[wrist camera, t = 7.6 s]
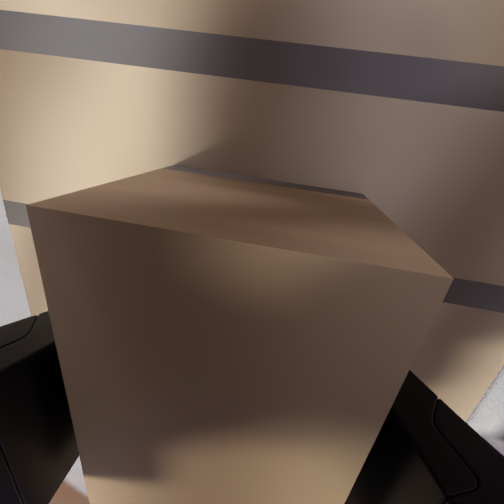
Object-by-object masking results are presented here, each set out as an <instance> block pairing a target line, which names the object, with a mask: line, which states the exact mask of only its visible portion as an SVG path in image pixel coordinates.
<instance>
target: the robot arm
mask: <svg viewBox="0 0 504 504" xmlns="http://www.w3.org/2000/svg"><path fill="white" fill-rule="evenodd" d="M78 456H79V451H78V446H77V441H76V437H75V432H74V427H73V423H72V418H71V413H70V409H69V404H68V399H67V395H66V390H65V386H64V381H63V376H62V372H61V367H60V362H59V358H58V353H57V348H56V344H55V339H54V334H53V330H52V325H51V320H50V316H49V311H46V312H43V313H40V314H39V315H38V316H37V315H34V316H31V317H28V318H25V319H22V320H19V321H16V322H13V323H10V324H7V325H4V326H1V327H0V504H49V502H50V501H51V499H52V497H53V496H54V494H55V493H56V491H57V490H58V488H59V486H60V484H61V483H62V482H63V480H64V479H65V477H66V475H67V474H68V472H69V471H70V469H71V467H72V466H73V464H74V463H75V461H76V460H77V458H78ZM344 504H504V456H503V455H502V454H501V453H500V452H499V451H497V450H496V449H495V448H494V447H493V446H492V445H491V444H489V443H488V442H487V441H486V440H485V439H484V438H483V437H481V436H480V435H479V434H478V433H477V432H476V431H475V430H474V429H472V428H471V427H470V426H469V425H468V424H467V423H466V422H465V421H464V420H463V419H462V418H461V417H459V416H458V415H457V414H456V413H455V412H454V411H453V410H452V409H451V408H450V407H449V406H448V405H447V404H446V403H445V402H443V401H442V400H441V399H438V396H437V395H436V394H435V393H434V392H433V391H432V390H431V389H430V388H429V387H428V386H426V385H425V384H424V383H423V382H422V381H421V380H420V379H419V378H418V377H417V376H416V375H415V374H414V373H413V372H412V371H411V370H409V372H408V374H407V376H406V378H405V380H404V382H403V384H402V386H401V388H400V390H399V392H398V394H397V396H396V398H395V401H394V403H393V405H392V407H391V409H390V411H389V413H388V415H387V417H386V419H385V421H384V423H383V425H382V427H381V429H380V431H379V433H378V436H377V438H376V440H375V442H374V444H373V446H372V448H371V450H370V452H369V454H368V456H367V458H366V460H365V462H364V464H363V466H362V468H361V471H360V473H359V475H358V477H357V479H356V481H355V483H354V485H353V487H352V489H351V491H350V493H349V495H348V497H347V499H346V501H345V503H344Z"/></svg>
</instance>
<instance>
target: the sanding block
mask: <svg viewBox="0 0 504 504" xmlns="http://www.w3.org/2000/svg"><path fill="white" fill-rule="evenodd" d="M26 209H27V213H28V218H29V223H30V227H31V232H32V237H33V241H34V246H35V251H36V255H37V260H38V264H39V269H40V274H41V278H42V283H43V288H44V292H45V297H46V302H47V306H48V311H49V316H50V320H51V325H52V330H53V334H54V339H55V344H56V348H57V353H58V358H59V362H60V367H61V372H62V376H63V381H64V386H65V390H66V395H67V399H68V404H69V409H70V413H71V418H72V423H73V427H74V432H75V437H76V441H77V446H78V451H79V455H80V460H81V465H82V469H83V474H84V479H85V483H86V488H87V493H88V497H89V502H90V504H344V503H345V501H346V499H347V497H348V495H349V493H350V491H351V489H352V487H353V485H354V483H355V481H356V479H357V477H358V475H359V473H360V471H361V468H362V466H363V464H364V462H365V460H366V458H367V456H368V454H369V452H370V450H371V448H372V446H373V444H374V442H375V440H376V438H377V436H378V433H379V431H380V429H381V427H382V425H383V423H384V421H385V419H386V417H387V415H388V413H389V411H390V409H391V407H392V405H393V403H394V401H395V398H396V396H397V394H398V392H399V390H400V388H401V386H402V384H403V382H404V380H405V378H406V376H407V374H408V372H409V370H410V368H411V366H412V363H413V361H414V359H415V357H416V355H417V353H418V351H419V349H420V347H421V345H422V343H423V341H424V339H425V337H426V335H427V333H428V331H429V329H430V326H431V324H432V322H433V320H434V318H435V316H436V314H437V312H438V310H439V308H440V306H441V304H442V302H443V300H444V298H445V296H446V294H447V291H448V289H449V287H450V285H451V283H452V281H453V279H454V278H453V277H452V276H451V275H449V274H448V273H447V272H446V271H445V270H444V269H443V268H442V267H441V266H440V265H439V264H438V263H437V262H435V261H434V260H433V259H432V258H431V257H430V256H429V255H428V254H427V253H426V252H425V251H424V250H423V249H421V248H420V247H419V246H418V245H417V244H416V243H415V242H414V241H413V240H412V239H411V238H410V237H409V236H407V235H406V234H405V233H404V232H403V231H402V230H401V229H400V228H399V227H398V226H397V225H396V224H395V223H393V222H392V221H391V220H390V219H389V218H388V217H387V216H386V215H385V214H384V213H383V212H382V211H381V210H379V209H378V208H377V207H376V206H375V205H374V204H373V203H372V202H371V201H370V200H369V199H368V198H367V197H365V196H364V195H363V194H361V193H354V192H348V191H341V190H335V189H328V188H321V187H315V186H308V185H302V184H295V183H289V182H282V181H275V180H269V179H262V178H256V177H249V176H242V175H236V174H229V173H223V172H216V171H210V170H203V169H196V168H190V167H183V166H177V165H172V166H168V167H164V168H161V169H157V170H153V171H150V172H146V173H142V174H139V175H135V176H131V177H127V178H124V179H120V180H116V181H113V182H109V183H105V184H101V185H98V186H94V187H90V188H87V189H83V190H79V191H76V192H72V193H68V194H64V195H61V196H57V197H53V198H50V199H46V200H42V201H39V202H35V203H31V204H27V205H26Z"/></svg>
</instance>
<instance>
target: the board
mask: <svg viewBox="0 0 504 504" xmlns="http://www.w3.org/2000/svg"><path fill="white" fill-rule="evenodd" d="M172 165H177V166H183V167H190V168H196V169H203V170H210V171H216V172H223V173H229V174H236V175H242V176H249V177H256V178H262V179H269V180H275V181H282V182H289V183H295V184H302V185H308V186H315V187H321V188H328V189H335V190H341V191H348V192H354V193H361V194H363V195H364V196H365V197H367V198H368V199H369V200H370V201H371V202H372V203H373V204H374V205H375V206H376V207H377V208H378V209H379V210H381V211H382V212H383V213H384V214H385V215H386V216H387V217H388V218H389V219H390V220H391V221H392V222H393V223H395V224H396V225H397V226H398V227H399V228H400V229H401V230H402V231H403V232H404V233H405V234H406V235H407V236H409V237H410V238H411V239H412V240H413V241H414V242H415V243H416V244H417V245H418V246H419V247H420V248H421V249H423V250H424V251H425V252H426V253H427V254H428V255H429V256H430V257H431V258H432V259H433V260H434V261H435V262H437V263H438V264H439V265H440V266H441V267H442V268H443V269H444V270H445V271H446V272H447V273H448V274H449V275H451V276H452V277H453V278H454V279H453V281H452V283H451V285H450V287H449V289H448V291H447V294H446V296H445V298H444V300H443V302H442V304H441V306H440V308H439V310H438V312H437V314H436V316H435V318H434V320H433V322H432V324H431V326H430V329H429V331H428V333H427V335H426V337H425V339H424V341H423V343H422V345H421V347H420V349H419V351H418V353H417V355H416V357H415V359H414V361H413V363H412V366H411V368H410V370H411V371H412V372H413V373H414V374H415V375H416V376H417V377H418V378H419V379H420V380H421V381H422V382H423V383H424V384H425V385H426V386H428V387H429V388H430V389H431V390H432V391H433V392H434V393H435V394H436V395H437V396H438V399H441V400H442V401H443V402H445V403H446V404H447V405H448V406H449V407H450V408H451V409H452V410H453V411H454V412H455V413H456V414H457V415H458V416H459V417H461V418H462V419H463V420H464V421H465V422H466V421H467V419H468V418H469V417H470V415H471V414H472V412H473V411H474V409H475V408H476V406H477V405H478V403H479V402H480V400H481V399H482V397H483V396H484V394H485V393H486V391H487V390H488V388H489V387H490V385H491V384H492V382H493V381H494V379H495V378H496V376H497V375H498V373H499V372H500V370H501V369H502V367H503V366H504V0H0V189H1V193H2V197H3V202H4V206H5V210H6V214H7V218H8V222H9V226H10V230H11V234H12V238H13V242H14V247H15V251H16V255H17V259H18V263H19V267H20V271H21V275H22V279H23V283H24V288H25V292H26V296H27V300H28V304H29V308H30V312H31V316H34V315H37V316H38V315H39V314H40V313H43V312H46V311H48V306H47V302H46V297H45V292H44V288H43V283H42V278H41V274H40V269H39V264H38V260H37V255H36V251H35V246H34V241H33V237H32V232H31V227H30V223H29V218H28V213H27V209H26V205H27V204H31V203H35V202H39V201H42V200H46V199H50V198H53V197H57V196H61V195H64V194H68V193H72V192H76V191H79V190H83V189H87V188H90V187H94V186H98V185H101V184H105V183H109V182H113V181H116V180H120V179H124V178H127V177H131V176H135V175H139V174H142V173H146V172H150V171H153V170H157V169H161V168H164V167H168V166H172Z"/></svg>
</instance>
